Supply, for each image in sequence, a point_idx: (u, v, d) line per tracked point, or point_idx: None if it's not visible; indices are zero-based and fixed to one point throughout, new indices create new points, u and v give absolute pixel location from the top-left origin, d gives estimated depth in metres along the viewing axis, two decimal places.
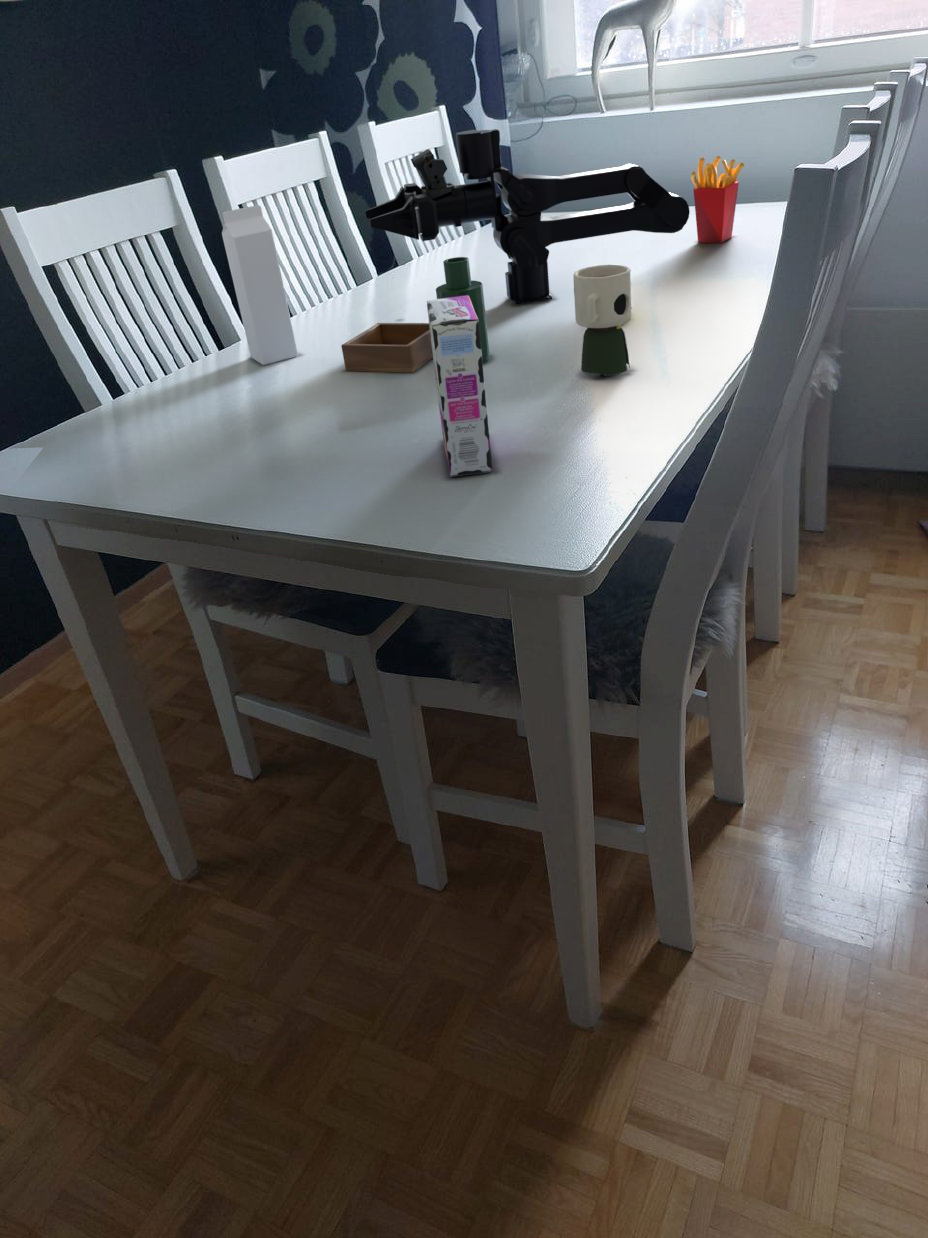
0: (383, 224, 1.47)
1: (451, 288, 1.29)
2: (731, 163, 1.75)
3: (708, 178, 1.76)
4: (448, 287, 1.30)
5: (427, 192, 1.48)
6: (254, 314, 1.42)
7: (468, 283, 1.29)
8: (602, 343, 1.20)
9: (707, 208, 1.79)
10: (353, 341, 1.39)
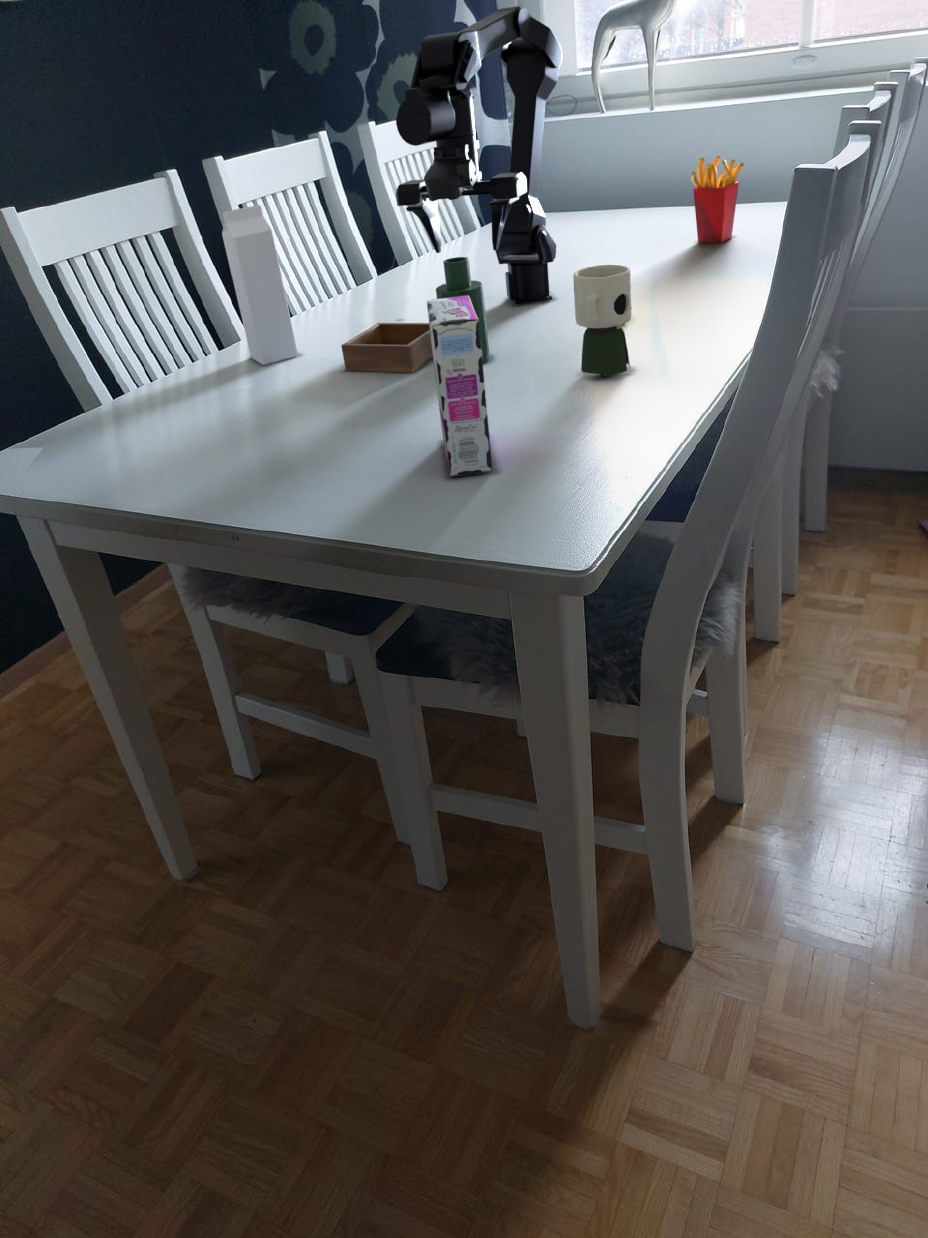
0: (500, 235, 1.40)
1: (451, 288, 1.29)
2: (731, 163, 1.75)
3: (708, 178, 1.76)
4: (448, 287, 1.30)
5: None
6: (254, 314, 1.42)
7: (468, 283, 1.29)
8: (602, 343, 1.20)
9: (707, 208, 1.79)
10: (353, 341, 1.39)
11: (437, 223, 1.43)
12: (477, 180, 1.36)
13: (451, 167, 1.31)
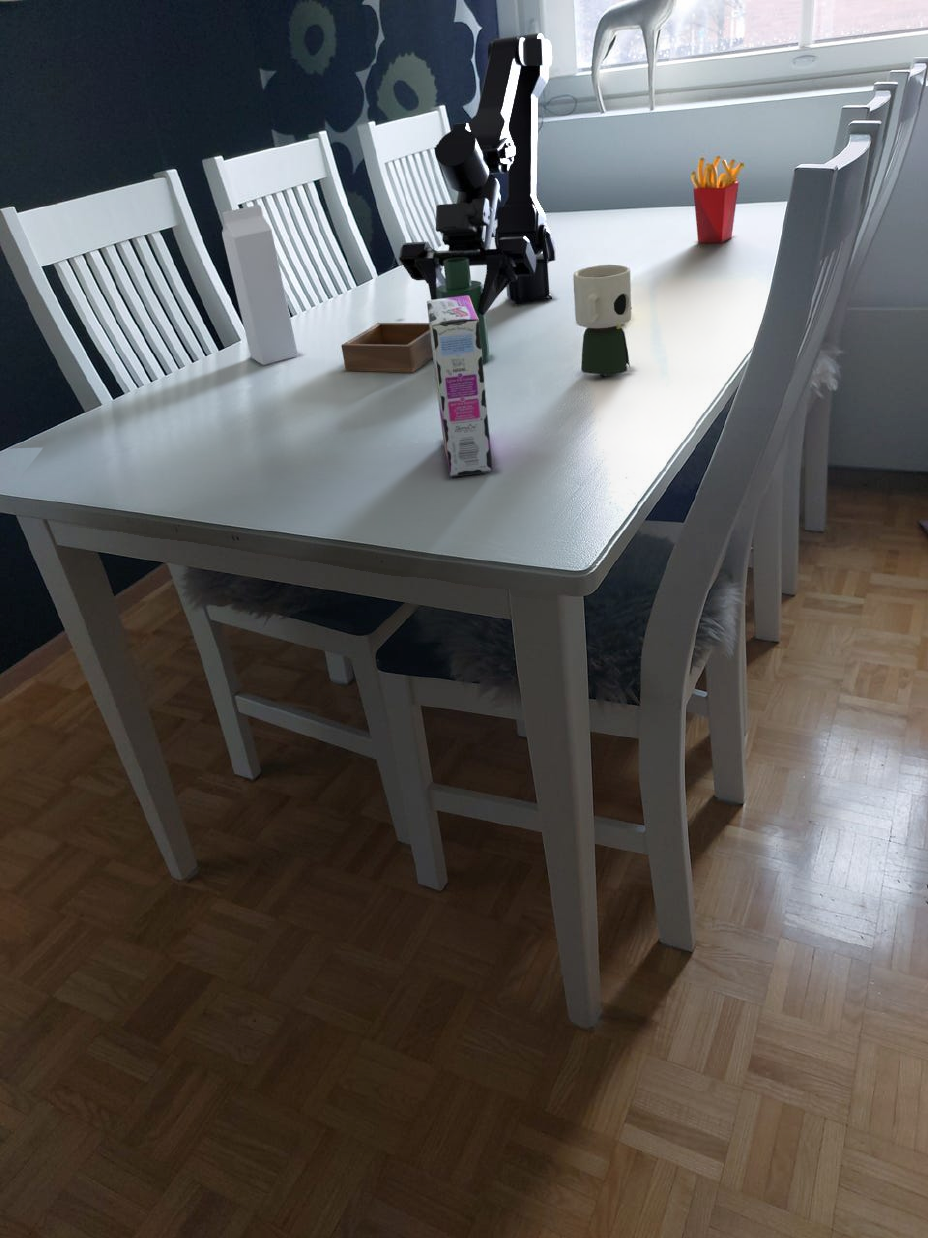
0: (489, 301, 1.30)
1: (451, 288, 1.29)
2: (731, 163, 1.75)
3: (708, 178, 1.76)
4: (448, 287, 1.30)
5: (482, 237, 1.29)
6: (254, 314, 1.42)
7: (468, 283, 1.29)
8: (602, 343, 1.20)
9: (707, 208, 1.79)
10: (353, 341, 1.39)
11: None
12: (487, 248, 1.32)
13: None
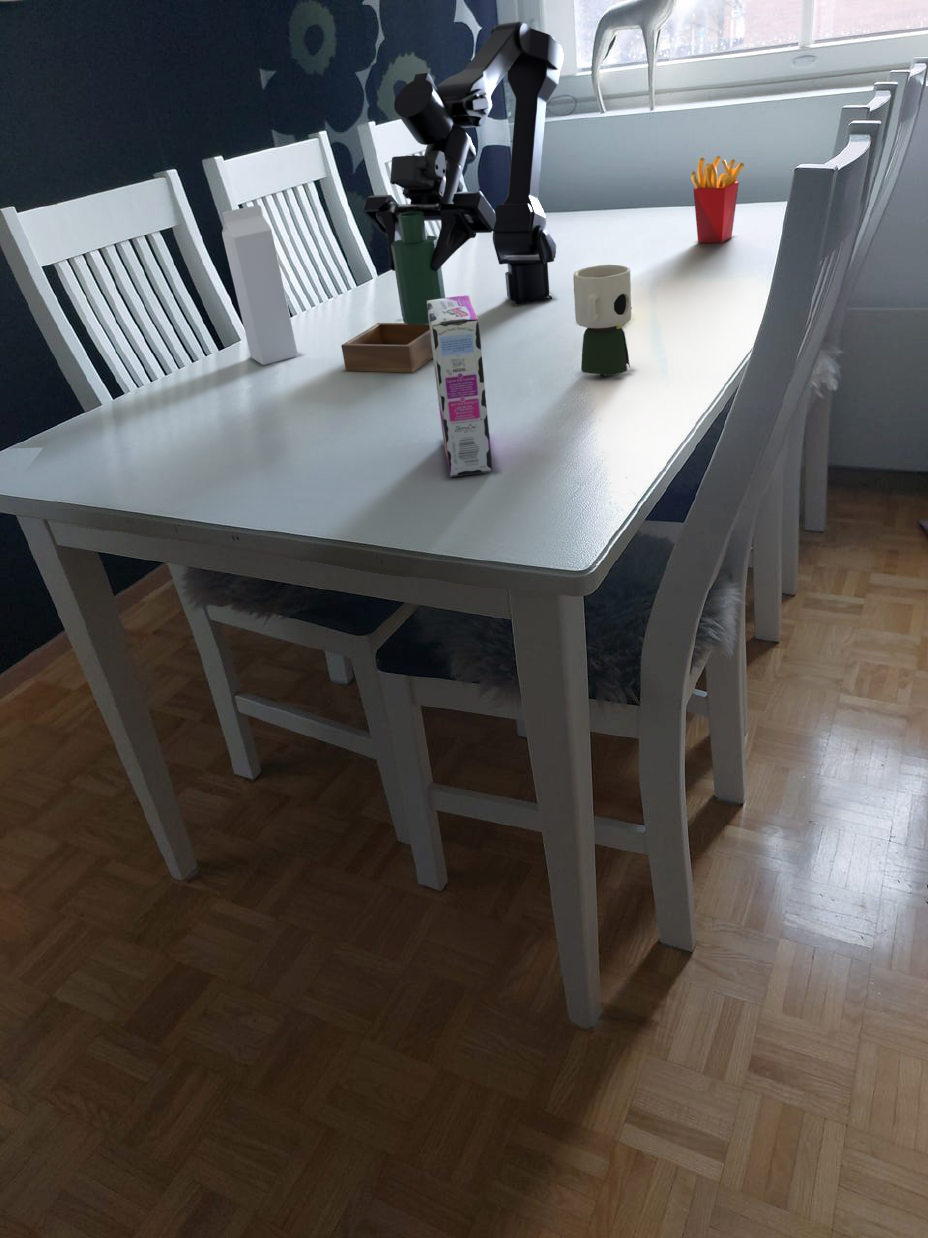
0: (443, 257, 1.29)
1: (404, 242, 1.28)
2: (731, 163, 1.75)
3: (708, 178, 1.76)
4: (402, 241, 1.29)
5: (439, 191, 1.27)
6: (254, 314, 1.42)
7: (422, 238, 1.28)
8: (602, 343, 1.20)
9: (707, 208, 1.79)
10: (353, 341, 1.39)
11: None
12: (447, 203, 1.30)
13: None
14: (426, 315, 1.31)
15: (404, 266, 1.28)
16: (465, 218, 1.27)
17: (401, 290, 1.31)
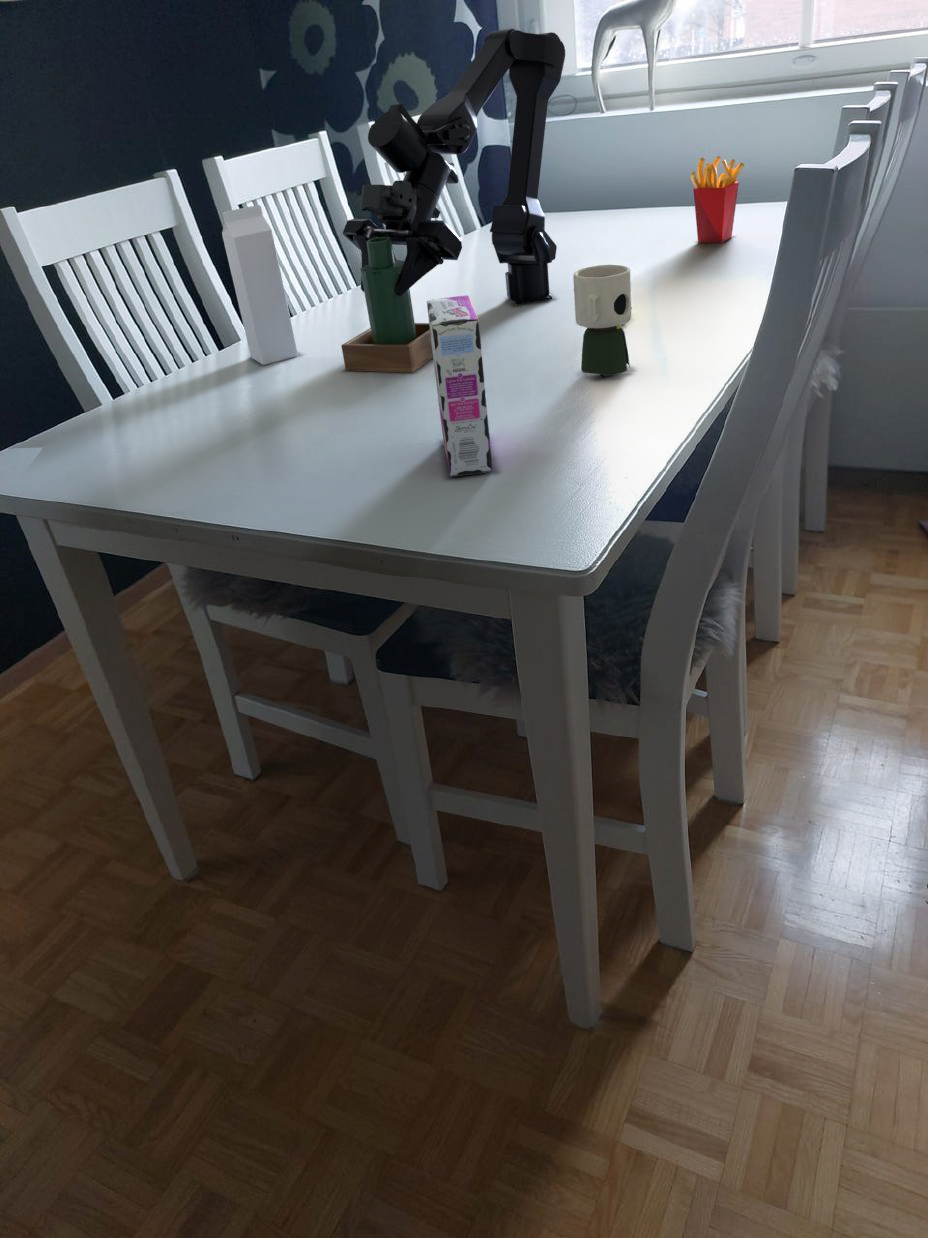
0: (408, 283, 1.33)
1: (372, 267, 1.33)
2: (731, 163, 1.75)
3: (708, 178, 1.76)
4: (370, 266, 1.33)
5: (408, 219, 1.31)
6: (254, 314, 1.42)
7: (388, 263, 1.32)
8: (602, 343, 1.20)
9: (707, 208, 1.79)
10: (353, 341, 1.39)
11: None
12: None
13: None
14: (391, 337, 1.36)
15: (370, 290, 1.33)
16: (429, 246, 1.30)
17: (369, 312, 1.36)
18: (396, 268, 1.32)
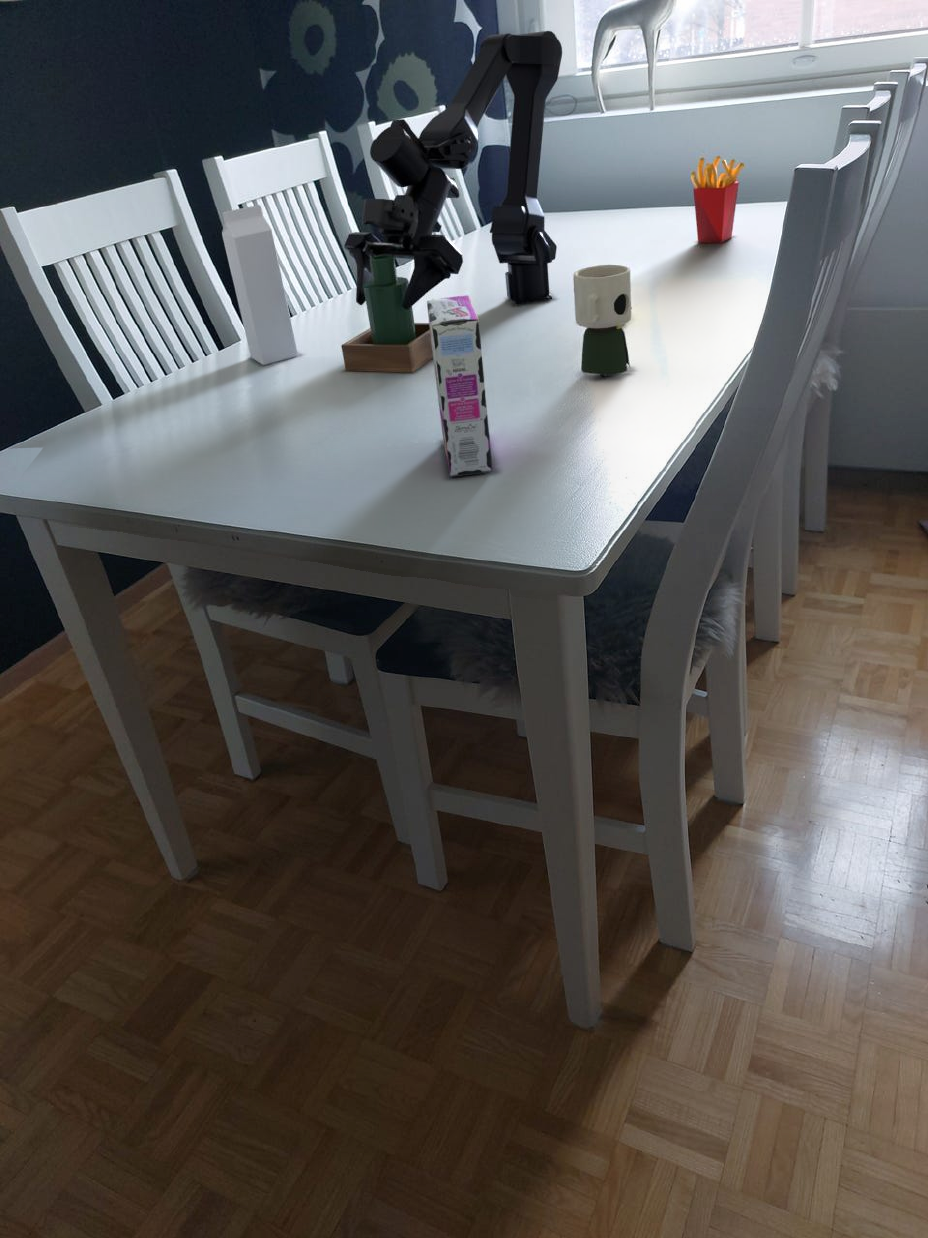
0: (415, 296, 1.33)
1: (375, 284, 1.34)
2: (731, 163, 1.75)
3: (708, 178, 1.76)
4: (373, 283, 1.35)
5: (409, 233, 1.32)
6: (254, 314, 1.42)
7: (390, 280, 1.33)
8: (602, 343, 1.20)
9: (707, 208, 1.79)
10: (353, 341, 1.39)
11: None
12: None
13: None
14: None
15: (372, 306, 1.34)
16: (437, 260, 1.31)
17: (371, 328, 1.37)
18: (399, 285, 1.33)
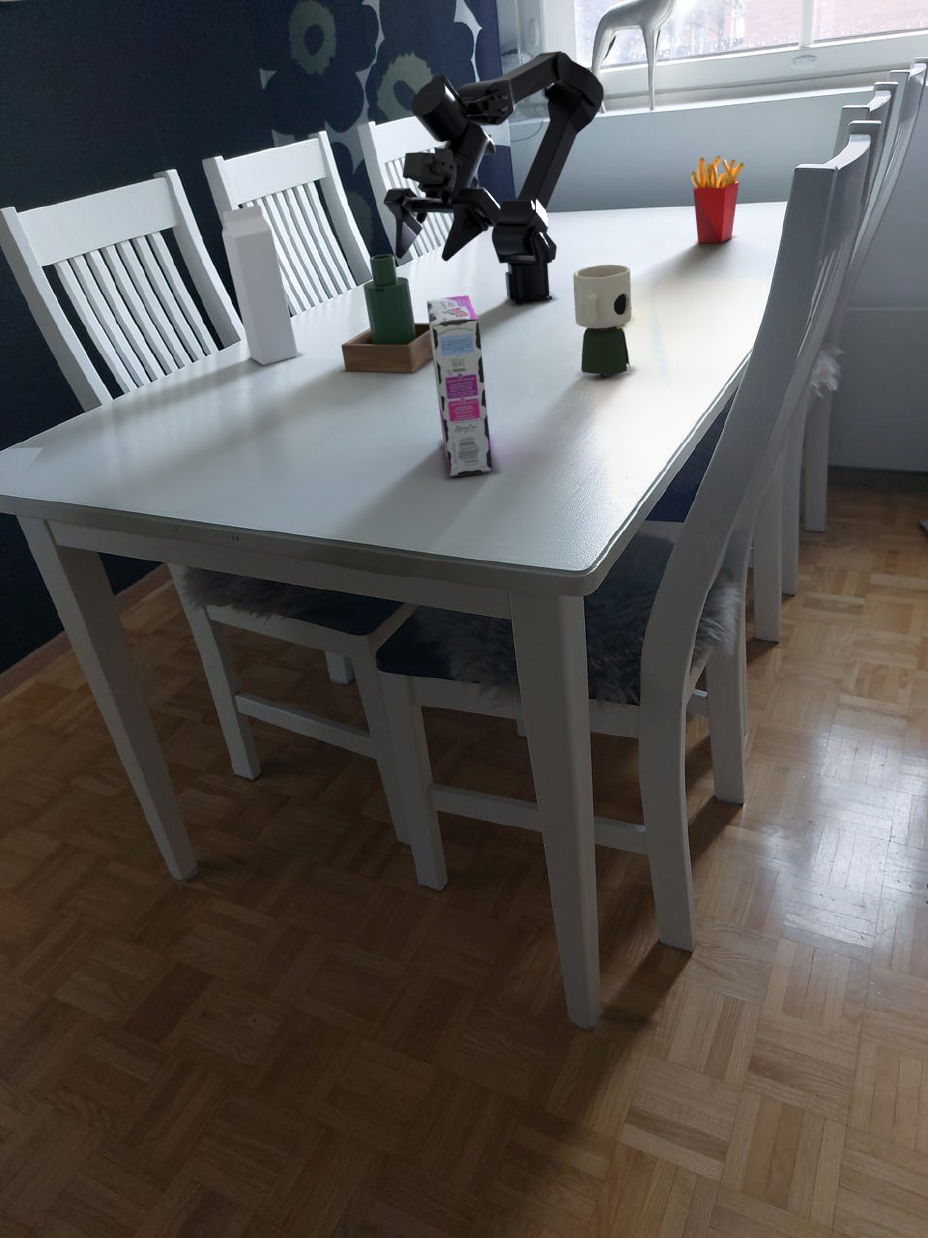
0: (454, 248, 1.36)
1: (375, 284, 1.34)
2: (731, 163, 1.75)
3: (708, 178, 1.76)
4: (373, 283, 1.35)
5: (448, 186, 1.36)
6: (254, 314, 1.42)
7: (390, 280, 1.33)
8: (602, 343, 1.20)
9: (707, 208, 1.79)
10: (353, 341, 1.39)
11: (411, 238, 1.43)
12: (457, 197, 1.38)
13: None
14: None
15: (372, 306, 1.34)
16: (475, 212, 1.34)
17: (371, 328, 1.37)
18: (399, 285, 1.33)
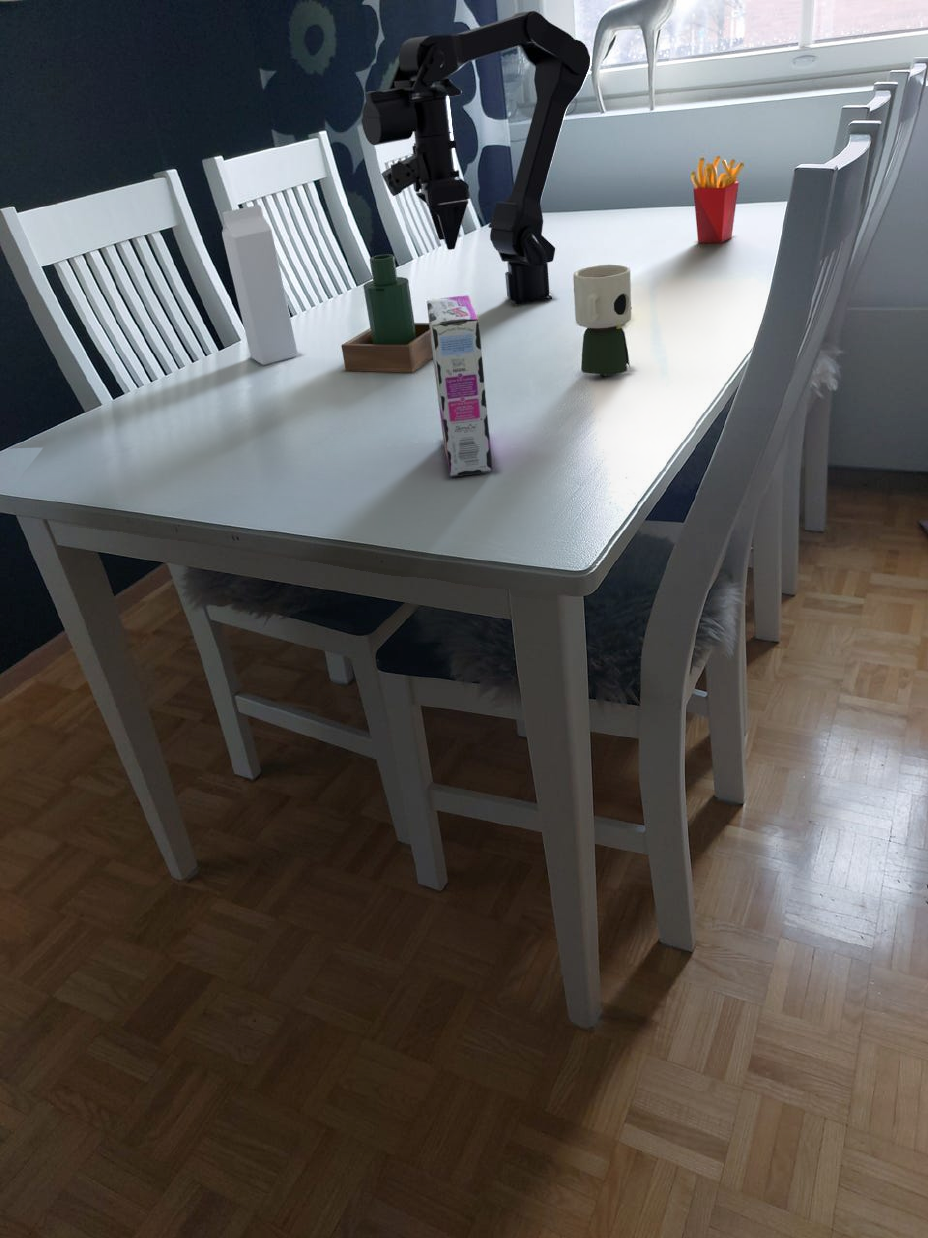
0: (452, 236, 1.44)
1: (375, 284, 1.34)
2: (731, 163, 1.75)
3: (708, 178, 1.76)
4: (373, 283, 1.35)
5: (422, 182, 1.41)
6: (254, 314, 1.42)
7: (390, 280, 1.33)
8: (602, 343, 1.20)
9: (707, 208, 1.79)
10: (353, 341, 1.39)
11: None
12: (439, 179, 1.42)
13: None
14: None
15: (372, 306, 1.34)
16: (442, 205, 1.39)
17: (371, 328, 1.37)
18: (399, 285, 1.33)
